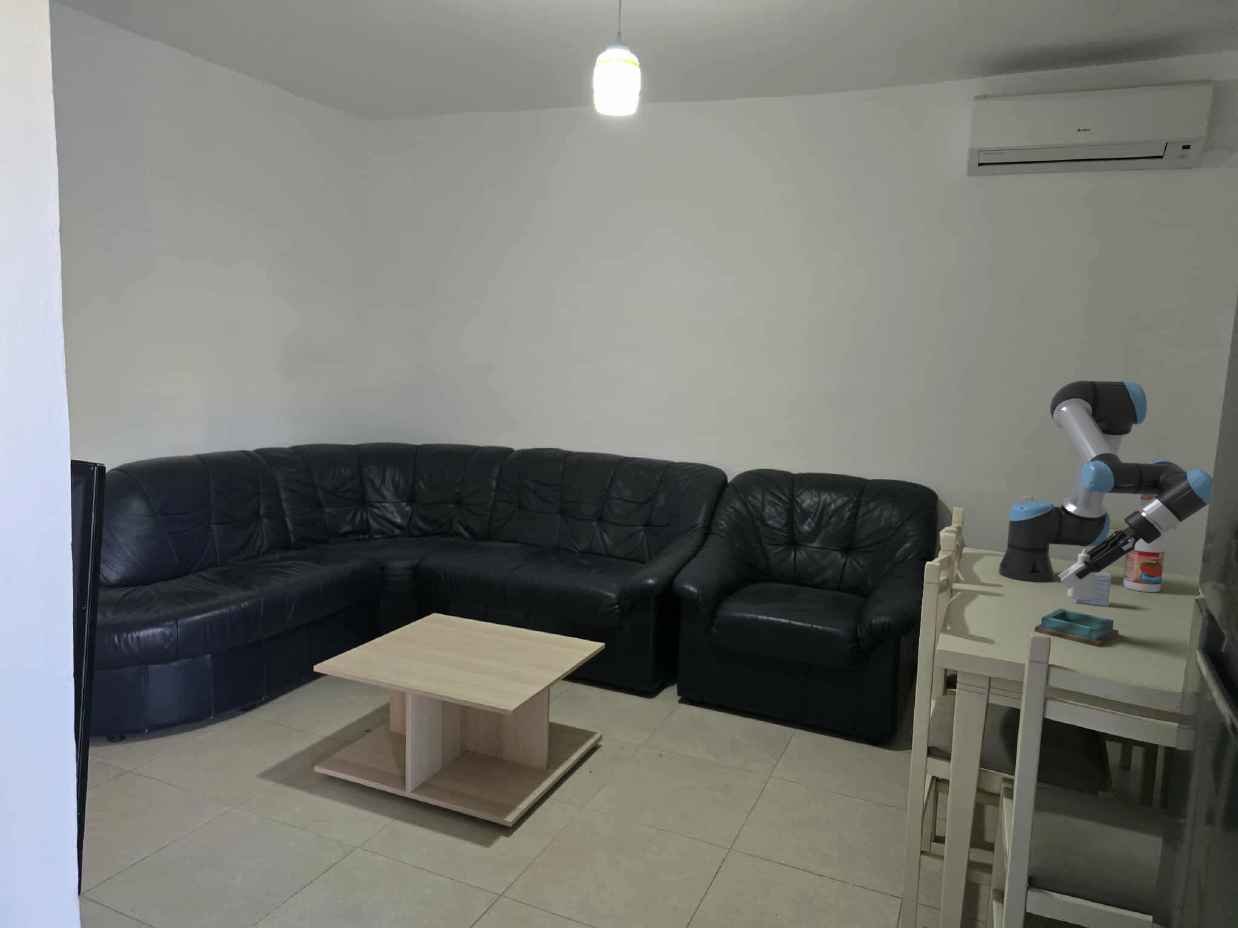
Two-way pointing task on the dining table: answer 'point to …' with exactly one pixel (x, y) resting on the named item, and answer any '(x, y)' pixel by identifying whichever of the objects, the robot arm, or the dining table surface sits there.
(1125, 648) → the dining table surface
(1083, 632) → the bottle stand
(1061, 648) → the dining table surface
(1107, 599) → the medicine box
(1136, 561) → the fruit juice
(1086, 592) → the eye dropper bottle
